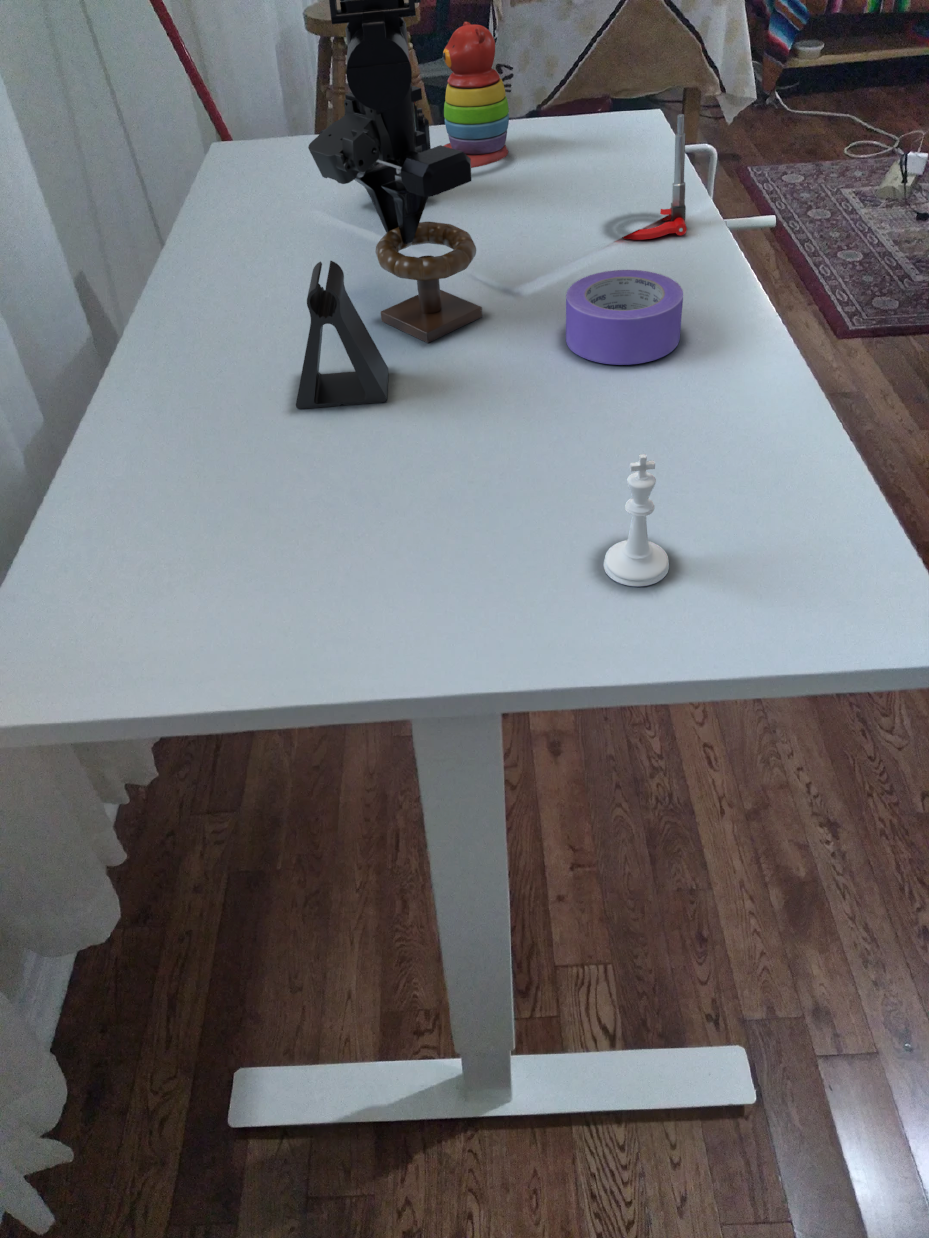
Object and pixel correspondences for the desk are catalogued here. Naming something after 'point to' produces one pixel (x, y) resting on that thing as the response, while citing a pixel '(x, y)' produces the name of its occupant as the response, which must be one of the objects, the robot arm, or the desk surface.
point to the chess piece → (638, 535)
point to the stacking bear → (475, 97)
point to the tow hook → (678, 196)
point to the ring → (431, 265)
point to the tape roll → (623, 316)
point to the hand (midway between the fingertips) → (400, 240)
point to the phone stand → (358, 344)
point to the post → (431, 312)
